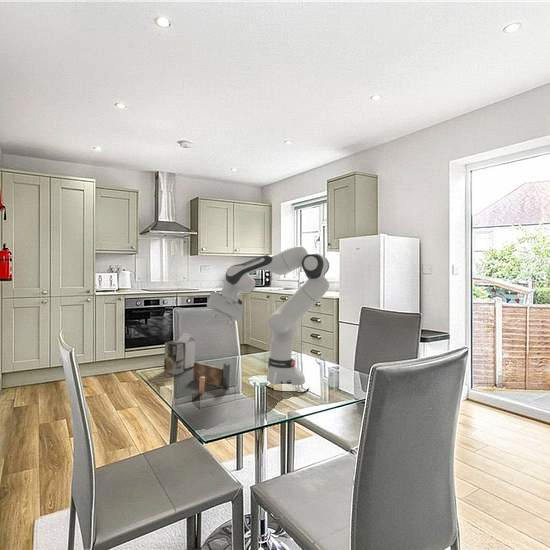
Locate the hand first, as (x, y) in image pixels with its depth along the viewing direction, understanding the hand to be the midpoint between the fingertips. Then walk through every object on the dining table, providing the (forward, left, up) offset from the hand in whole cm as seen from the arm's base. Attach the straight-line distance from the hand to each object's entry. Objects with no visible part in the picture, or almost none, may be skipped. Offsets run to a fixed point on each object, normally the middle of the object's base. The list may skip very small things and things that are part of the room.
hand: (221, 321), depth 206 cm
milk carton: (+25, -16, -31) cm, 42 cm away
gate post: (-7, +10, -31) cm, 33 cm away
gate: (+3, +6, -30) cm, 31 cm away
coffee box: (+27, -5, -31) cm, 41 cm away
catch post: (+1, +20, -31) cm, 37 cm away
